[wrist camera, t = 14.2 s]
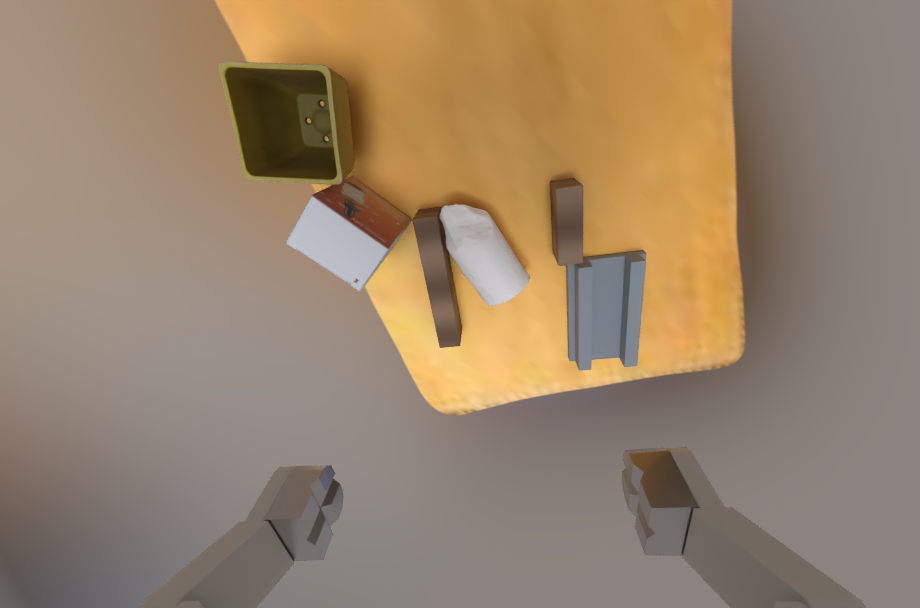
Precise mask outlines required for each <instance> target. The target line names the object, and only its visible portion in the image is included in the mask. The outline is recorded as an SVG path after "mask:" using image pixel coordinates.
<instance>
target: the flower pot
mask: <svg viewBox="0 0 920 608" xmlns="http://www.w3.org/2000/svg"><path fill="white" fill-rule="evenodd" d="M219 73H220V77H221V82H222V86H223V89H224V93H225V97H226V101H227V105H228V109H229V112H230V116H231V120H232V124H233V129H234V133H235V137H236V143H237V148H238V152H239V157H240V161H241V167H242V170H243V173H244V175H245V178H246V179H247V180H251V181H271V182H273V181H274V182H294V183H313V184H331V185H338V184H341V183H342V181H343V180H344V179H345V178H346V177H347V175H348V174H349V173H350V172H351V170H352V169H353V166H354V148H353V139H352V129H351V118H350V107H349V94H348V86H347V83H346V81H345V79H344V78H343V77H342V76H340V75H339V74H337V73H336V72H334V71H333V70H331V69H330V68H328V67H326V66H324V65H317V64H316V65H314V64H277V63H275V64H274V63H250V62H232V61H231V62H230V61H228V62H227V61H226V62H221V63H220V64H219ZM320 101H323V102H324V104H325V105H324V107H321V106H320V105H319V102H320ZM307 118H310V119H311V124H308V123H307V122H306V119H307ZM324 136H327V137H328V138H329V141H328V142H326V141H324Z"/></svg>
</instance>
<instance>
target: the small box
mask: <svg viewBox="0 0 920 608" xmlns="http://www.w3.org/2000/svg"><path fill="white" fill-rule="evenodd" d="M410 221H411V219H410V218H409V217H407V216H406V215H405V214H403V213H402V212H400V211H399V210H397V209H396V208H395V207H393V206H392V205H391V204H389V203H388V202H387V201H385V200H384V199H383V198H381V197H380V196H379V195H377V194H376V193H375V192H373V191H372V190H371V189H369V188H368V187H367V186H365V185H364V184H363V183H361V182H360V181H359V180H357V179H356V178H355V177H353V176H351V177H349V178H347V179H345V180H343V181H342V183H341V184H338V185H332V186H330V187H328V188H326V189H324V190H322V191H319V192H317V193H315V194H313V195H312V196H311V198H310V199H309V201H308V203H307V205H306V207H305V208H304V210H303V212H302V214H301V216H300V217H299V219H298V221H297V223H296V225H295V226H294V228H293V230H292V232H291V234H290V235H289V237H288V239H287V241H286V244H288V245H289V246H291V247H293V248H294V249H296V250H298V251H299V252H301V253H302V254H304V255H306V256H307V257H309V258H310V259H312V260H313V261H315V262H316V263H318V264H319V265H321V266H322V267H324V268H325V269H327V270H329V271H330V272H331V273H333V274H334V275H336V276H338V277H339V278H341V279H342V280H343V281H345V282H346V283H348V284H349V285H350V286H352V287H353V288H354V289H356V290H357V291H361V290H362V288H363V287H364V286H365V285H366V283H367V282H368V281H369V279H370V278H371V277H372V275H373V274H374V273H375V271H376V270H377V268H378V267H379V266H380V264H381V263H382V262H383V260H384V259H385V258H386V256H387V255H388V253H389V252H390V251H391V249H392V248H393V246H394V245H395V243H396V242H397V241H398V239H399V238H400V236H401V235H402V233H403V232H404V230H405V229H406V227H407V226H408V224H409V223H410Z"/></svg>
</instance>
